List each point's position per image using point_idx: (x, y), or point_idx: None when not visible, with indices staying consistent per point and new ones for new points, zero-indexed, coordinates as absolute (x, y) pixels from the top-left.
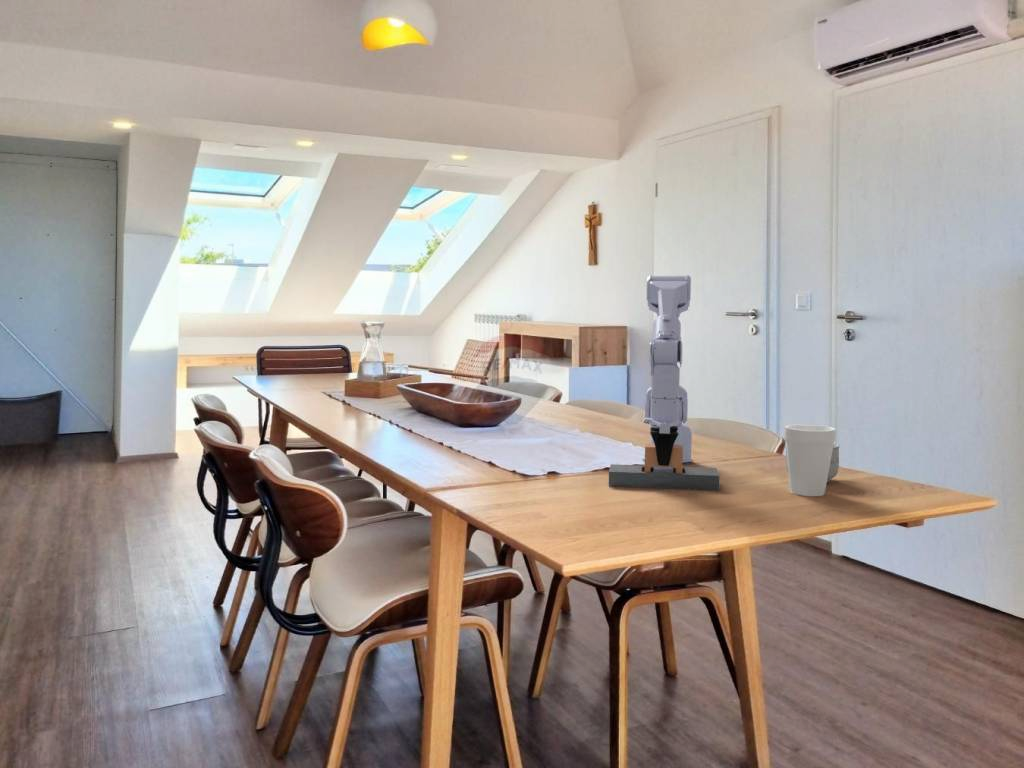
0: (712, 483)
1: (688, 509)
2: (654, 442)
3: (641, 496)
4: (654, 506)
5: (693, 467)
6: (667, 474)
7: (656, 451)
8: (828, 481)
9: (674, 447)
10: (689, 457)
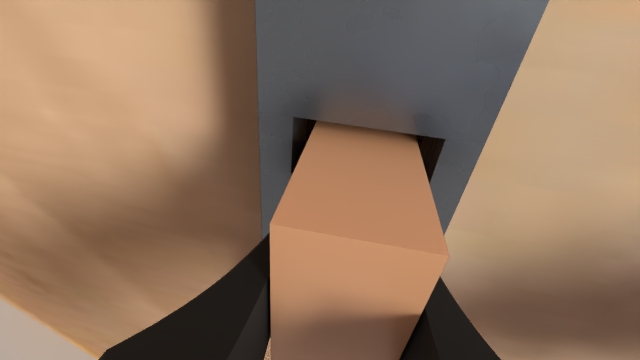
0: None
1: (34, 186)
2: (182, 307)
3: (119, 69)
4: (3, 98)
5: None
6: (263, 217)
7: (240, 261)
8: None
9: (288, 357)
10: None
